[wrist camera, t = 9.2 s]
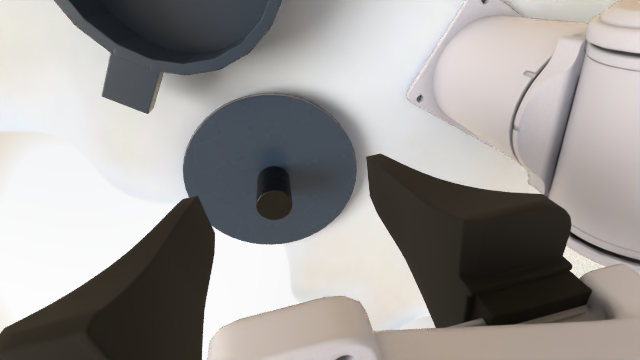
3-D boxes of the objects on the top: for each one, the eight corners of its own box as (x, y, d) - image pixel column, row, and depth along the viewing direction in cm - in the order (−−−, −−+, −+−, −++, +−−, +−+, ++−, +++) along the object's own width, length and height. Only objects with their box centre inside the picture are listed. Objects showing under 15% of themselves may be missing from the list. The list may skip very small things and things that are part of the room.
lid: (383, 135, 24) (405, 161, 20) (309, 251, 29) (315, 290, 25) (220, 56, 20) (209, 71, 16) (165, 209, 25) (146, 249, 21)
